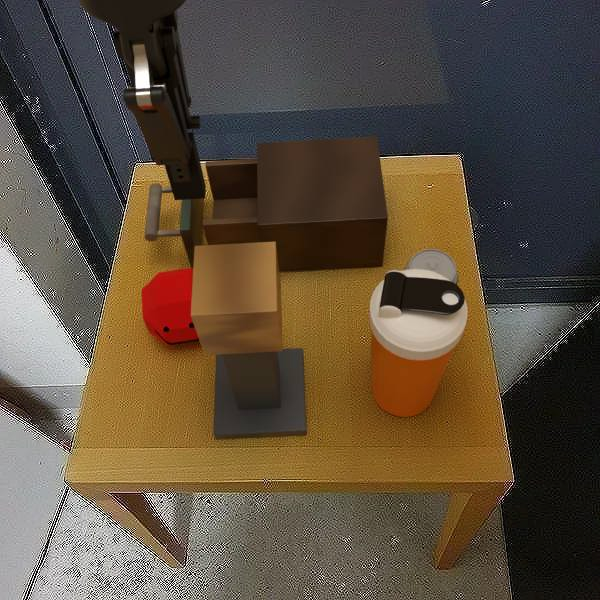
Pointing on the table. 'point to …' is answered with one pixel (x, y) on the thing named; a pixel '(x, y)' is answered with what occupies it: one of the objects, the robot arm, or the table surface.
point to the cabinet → (322, 203)
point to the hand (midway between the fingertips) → (190, 192)
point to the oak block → (237, 298)
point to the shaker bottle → (413, 337)
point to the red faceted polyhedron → (170, 307)
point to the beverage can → (434, 263)
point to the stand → (260, 395)
